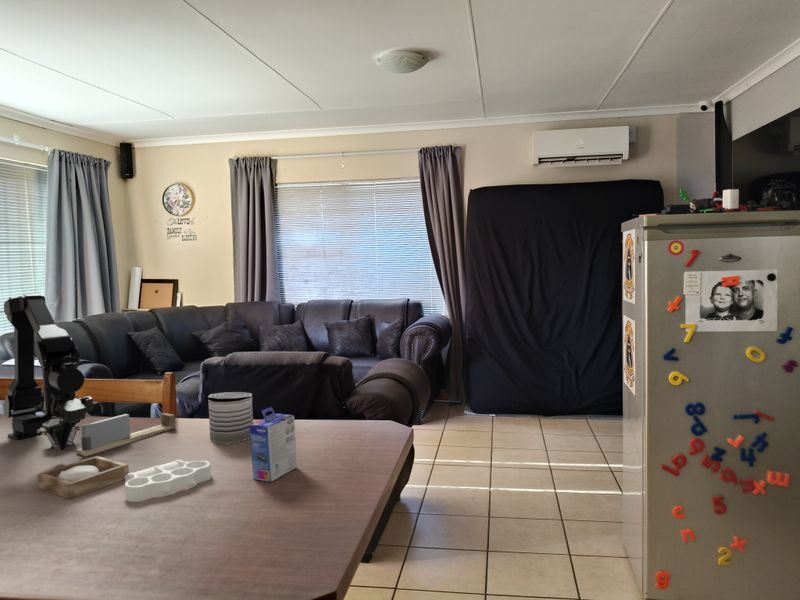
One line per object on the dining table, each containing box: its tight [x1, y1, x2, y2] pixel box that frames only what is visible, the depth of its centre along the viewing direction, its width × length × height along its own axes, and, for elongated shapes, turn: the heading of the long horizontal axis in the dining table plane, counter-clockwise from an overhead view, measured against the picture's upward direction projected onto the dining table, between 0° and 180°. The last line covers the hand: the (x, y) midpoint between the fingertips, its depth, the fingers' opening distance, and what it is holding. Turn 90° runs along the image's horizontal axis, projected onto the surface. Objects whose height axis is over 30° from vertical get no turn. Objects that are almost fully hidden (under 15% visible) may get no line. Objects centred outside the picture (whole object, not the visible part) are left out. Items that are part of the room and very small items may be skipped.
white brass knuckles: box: [124, 459, 212, 503], centre depth 125 cm, size 3×18×15 cm
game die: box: [42, 424, 81, 449], centre depth 153 cm, size 9×8×10 cm
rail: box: [75, 412, 176, 457], centre depth 156 cm, size 4×26×4 cm, turn 148°
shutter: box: [80, 413, 131, 450], centre depth 151 cm, size 2×12×6 cm, turn 148°
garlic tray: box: [37, 455, 130, 500], centre depth 127 cm, size 12×13×3 cm
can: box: [207, 391, 254, 444], centre depth 157 cm, size 11×11×12 cm
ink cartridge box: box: [249, 406, 298, 483], centre depth 130 cm, size 10×6×14 cm, turn 155°
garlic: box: [58, 465, 100, 482], centre depth 126 cm, size 8×7×4 cm
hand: (61, 450), depth 142 cm, fingers closed
